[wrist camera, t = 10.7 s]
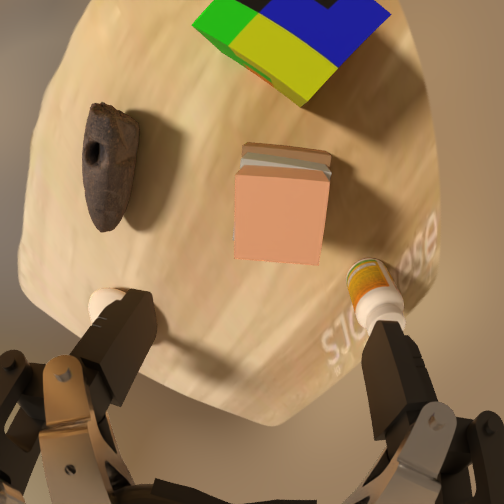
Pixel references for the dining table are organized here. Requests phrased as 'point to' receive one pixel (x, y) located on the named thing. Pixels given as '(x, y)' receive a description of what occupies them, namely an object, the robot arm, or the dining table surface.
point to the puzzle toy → (290, 38)
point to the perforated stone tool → (108, 164)
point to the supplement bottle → (374, 294)
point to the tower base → (288, 152)
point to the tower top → (281, 164)
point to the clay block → (280, 214)
